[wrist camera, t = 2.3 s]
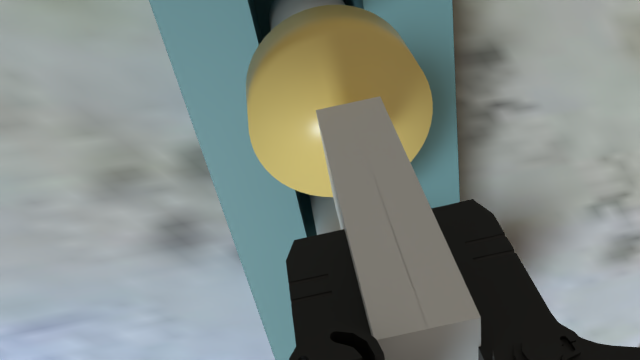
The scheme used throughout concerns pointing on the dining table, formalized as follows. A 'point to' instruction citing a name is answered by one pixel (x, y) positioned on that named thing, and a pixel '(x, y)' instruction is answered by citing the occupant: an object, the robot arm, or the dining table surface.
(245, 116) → the mount
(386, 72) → the plunger
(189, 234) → the dining table surface
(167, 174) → the dining table surface
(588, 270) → the dining table surface
